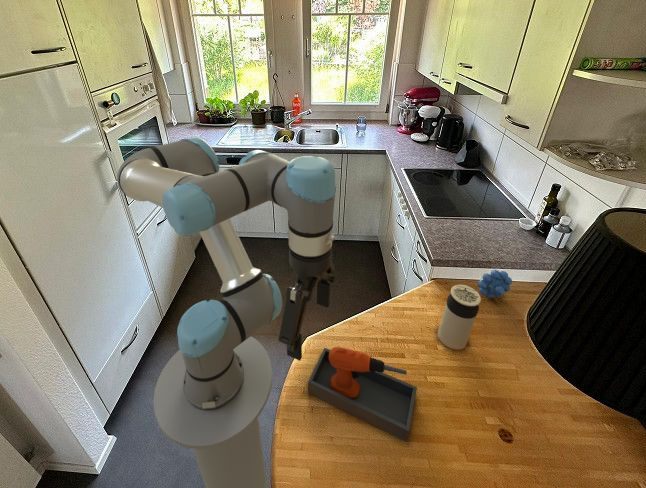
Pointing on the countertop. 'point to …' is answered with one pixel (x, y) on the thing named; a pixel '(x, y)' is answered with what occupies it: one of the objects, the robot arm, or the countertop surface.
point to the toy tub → (368, 397)
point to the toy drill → (353, 370)
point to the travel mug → (459, 316)
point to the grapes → (494, 283)
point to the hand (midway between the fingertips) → (309, 328)
